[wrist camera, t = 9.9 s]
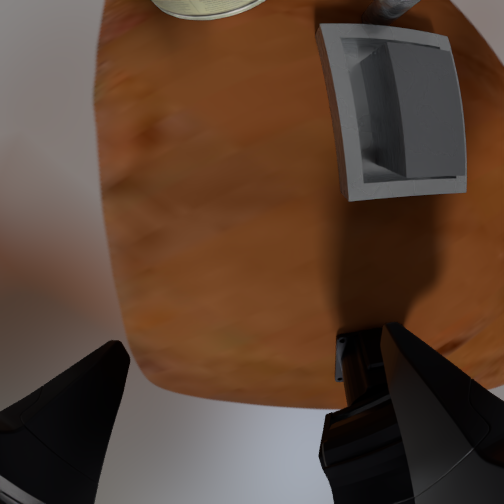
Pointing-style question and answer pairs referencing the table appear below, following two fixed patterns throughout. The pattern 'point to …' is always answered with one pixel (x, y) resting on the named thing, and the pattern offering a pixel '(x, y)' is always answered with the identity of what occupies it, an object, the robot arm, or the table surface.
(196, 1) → the coffee can
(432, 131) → the block
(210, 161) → the table surface
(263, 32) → the table surface
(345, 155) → the keeper cradle
